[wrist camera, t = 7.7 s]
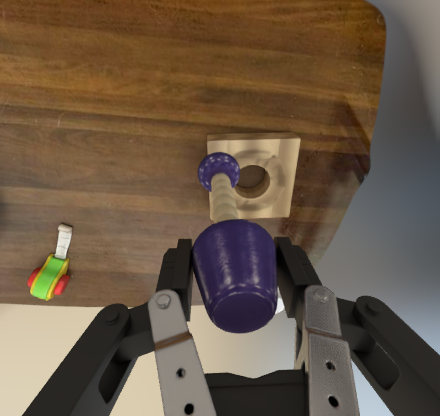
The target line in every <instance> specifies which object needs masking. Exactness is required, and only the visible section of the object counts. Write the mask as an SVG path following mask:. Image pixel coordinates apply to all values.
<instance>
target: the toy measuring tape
mask: <svg viewBox="0 0 440 416" xmlns="http://www.w3.org/2000/svg"><path fill="white" fill-rule="evenodd" d="M58 230H60V232H59V237H58V243H57V249H56V254H53V253H51V254H50V255H49V257H48V259H47V261H46V262H45V264H44V265H43V267H42V268H41V267H38V268H36V269H35V270H34V271H33V272H32V274H31V275H30V277H29V279H28V283H27V284H28V286H29V287H31V290H30V293H31V294H33V296H35V297H39V298H40V299H42V298H43V299H45V300H46V301H48V300H49V299H51V298H52V297H53V296H54V295H55V294H56V295H60V294H62V293H63V291H64V290H65V288H66V286H67V284H68V282H69V276H68V275H66V271H67V267H68V264H69V260H70V259H69V258H66V253H67V250H68V247H69V245H70V240H71V235H72V231H71V230H72V227H69V226H67V225H64V224H60V225H59V227H58Z"/></svg>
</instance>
